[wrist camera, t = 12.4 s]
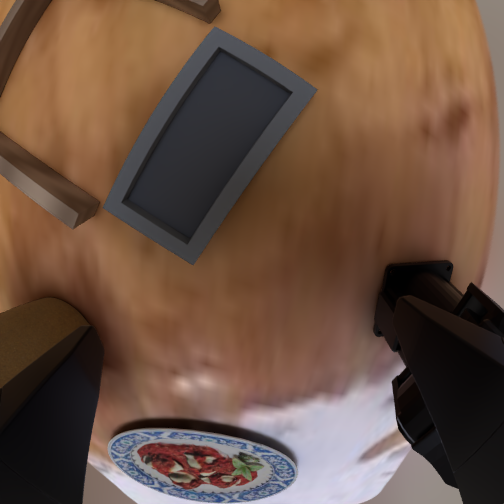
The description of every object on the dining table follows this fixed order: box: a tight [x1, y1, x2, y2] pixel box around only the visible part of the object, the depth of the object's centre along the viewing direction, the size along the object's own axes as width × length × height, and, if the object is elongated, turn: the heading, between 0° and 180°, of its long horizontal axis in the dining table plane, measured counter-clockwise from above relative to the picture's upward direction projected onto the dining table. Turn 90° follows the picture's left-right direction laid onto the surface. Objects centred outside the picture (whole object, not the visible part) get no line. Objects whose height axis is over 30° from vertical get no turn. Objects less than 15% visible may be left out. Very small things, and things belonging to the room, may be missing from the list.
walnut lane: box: [0, 0, 221, 229], centre depth 13 cm, size 15×16×3 cm
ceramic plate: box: [108, 428, 298, 503], centre depth 31 cm, size 26×26×3 cm
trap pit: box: [103, 27, 317, 265], centre depth 17 cm, size 7×13×2 cm, turn 146°
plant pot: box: [0, 297, 89, 388], centre depth 16 cm, size 15×15×16 cm
